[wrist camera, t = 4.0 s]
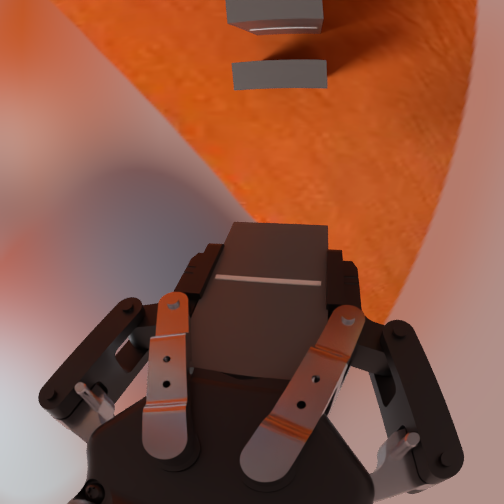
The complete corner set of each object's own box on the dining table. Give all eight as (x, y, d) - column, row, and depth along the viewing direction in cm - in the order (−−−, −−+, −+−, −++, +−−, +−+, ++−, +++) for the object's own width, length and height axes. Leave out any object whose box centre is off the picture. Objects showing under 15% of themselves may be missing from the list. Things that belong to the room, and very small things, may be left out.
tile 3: (255, 17, 19) (225, -3, 12) (319, 15, 18) (321, -9, 11) (257, 35, 20) (227, 24, 13) (320, 34, 19) (323, 19, 12)
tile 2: (259, 61, 21) (231, 62, 14) (321, 60, 20) (326, 59, 13) (261, 80, 22) (234, 91, 15) (322, 79, 21) (327, 89, 14)
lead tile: (234, 221, 17) (171, 362, 10) (327, 224, 16) (324, 381, 8) (237, 246, 18) (183, 386, 10) (326, 251, 17) (319, 404, 10)
